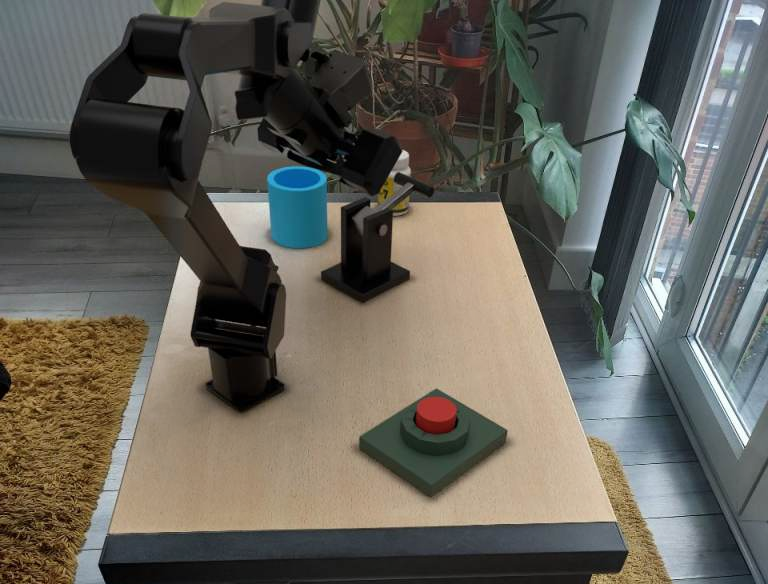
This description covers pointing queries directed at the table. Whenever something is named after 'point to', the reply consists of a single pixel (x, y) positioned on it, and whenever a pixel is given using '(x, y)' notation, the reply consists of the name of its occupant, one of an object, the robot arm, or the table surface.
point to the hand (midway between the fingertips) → (362, 180)
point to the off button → (436, 415)
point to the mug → (298, 206)
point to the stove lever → (394, 198)
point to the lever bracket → (365, 255)
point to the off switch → (432, 445)
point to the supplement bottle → (392, 187)
